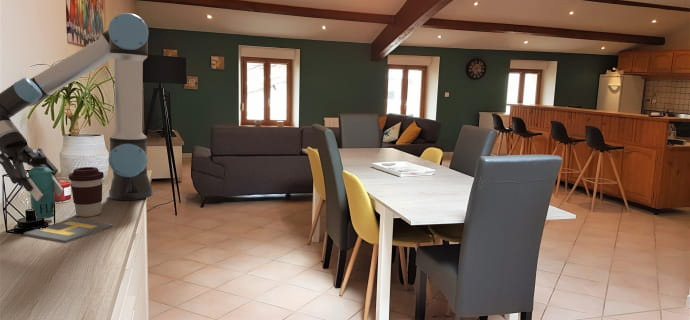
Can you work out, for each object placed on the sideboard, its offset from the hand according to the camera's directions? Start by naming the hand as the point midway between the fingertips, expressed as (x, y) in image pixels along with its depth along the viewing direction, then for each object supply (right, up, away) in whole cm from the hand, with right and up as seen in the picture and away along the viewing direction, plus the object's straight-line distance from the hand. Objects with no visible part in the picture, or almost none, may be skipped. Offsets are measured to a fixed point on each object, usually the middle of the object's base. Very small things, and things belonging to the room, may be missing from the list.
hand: (50, 195), depth 152 cm
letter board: (+9, -10, -6) cm, 15 cm away
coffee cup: (+6, -7, +11) cm, 14 cm away
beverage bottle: (-4, -8, +3) cm, 9 cm away
